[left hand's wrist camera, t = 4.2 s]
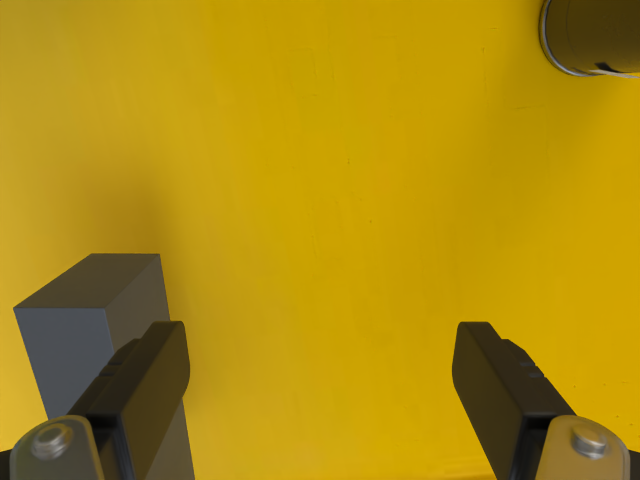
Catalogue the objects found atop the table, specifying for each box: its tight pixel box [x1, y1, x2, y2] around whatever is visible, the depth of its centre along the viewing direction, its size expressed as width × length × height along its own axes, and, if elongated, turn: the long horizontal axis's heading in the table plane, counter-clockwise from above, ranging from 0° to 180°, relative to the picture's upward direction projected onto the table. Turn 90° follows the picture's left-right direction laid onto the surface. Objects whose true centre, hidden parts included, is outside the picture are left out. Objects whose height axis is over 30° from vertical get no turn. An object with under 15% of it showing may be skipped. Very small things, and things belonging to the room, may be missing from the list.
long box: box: [13, 254, 195, 480], centre depth 34 cm, size 27×6×9 cm, turn 0°
